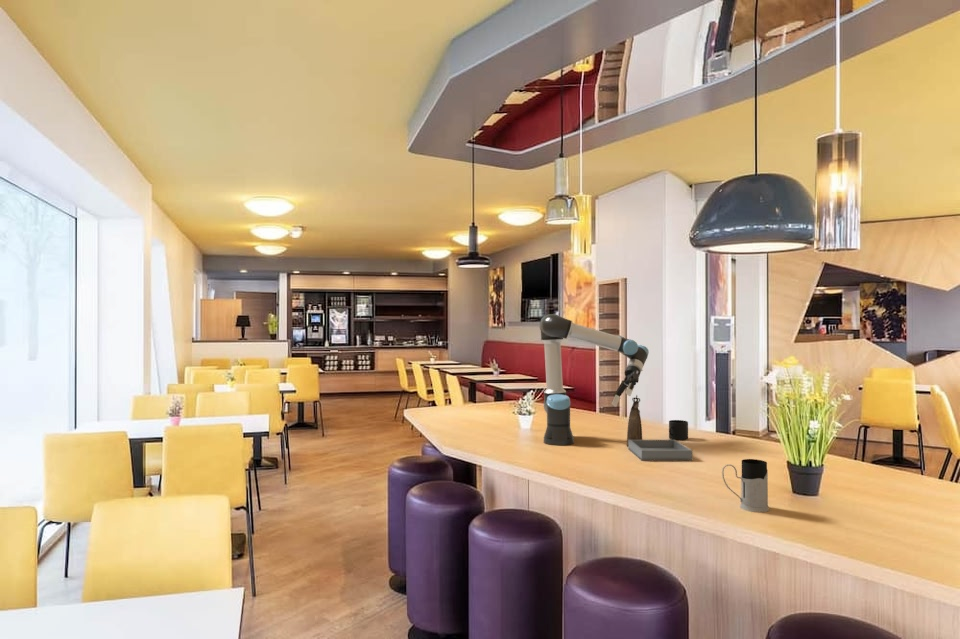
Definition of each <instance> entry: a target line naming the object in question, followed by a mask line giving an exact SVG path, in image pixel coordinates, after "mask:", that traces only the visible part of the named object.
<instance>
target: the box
mask: <svg viewBox="0 0 960 639" xmlns="http://www.w3.org/2000/svg"><path fill="white" fill-rule="evenodd" d="M628 450H629V451H630V452H631V453H632V454H633V455H635V457H636V458H638V459H639V460H640V461H641V462H642V461H643V462H646V461H647V462H649V461H650V462H653V461H654V462H660V461H663V462H665V461H666V462H676V461H677V462H679V461H681V462H683V461H684V462H685V461H686V462H687V461H688V462H689V461H693V449H691V448H690V447H688V446H686V445H684V444H682V443H680V442H679V440H672V439H642V440H628Z"/></svg>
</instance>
